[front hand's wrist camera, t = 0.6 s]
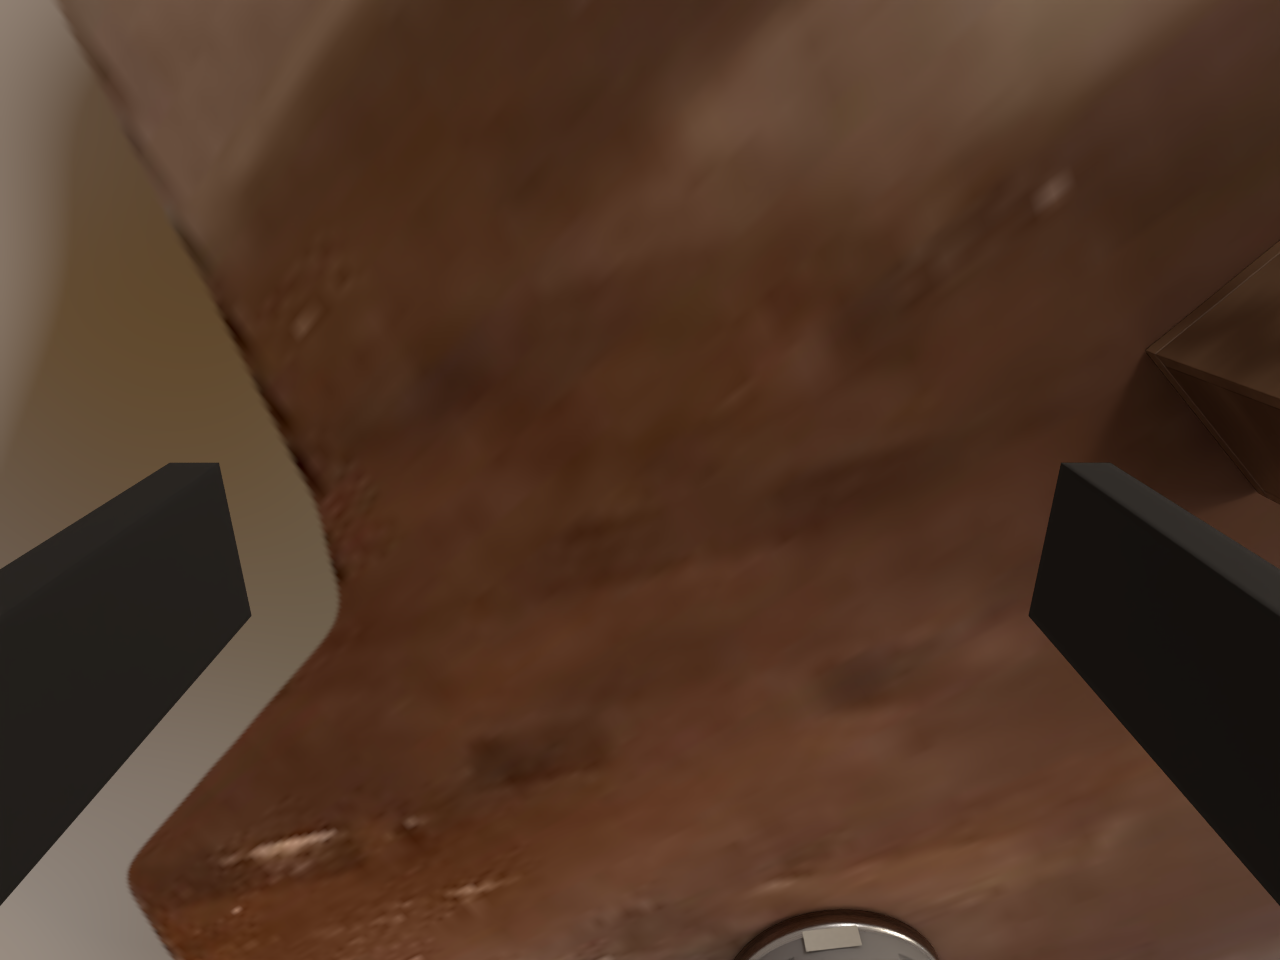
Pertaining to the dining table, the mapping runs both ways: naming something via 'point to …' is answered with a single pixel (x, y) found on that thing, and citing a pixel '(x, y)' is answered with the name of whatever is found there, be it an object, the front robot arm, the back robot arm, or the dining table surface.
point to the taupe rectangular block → (1234, 369)
